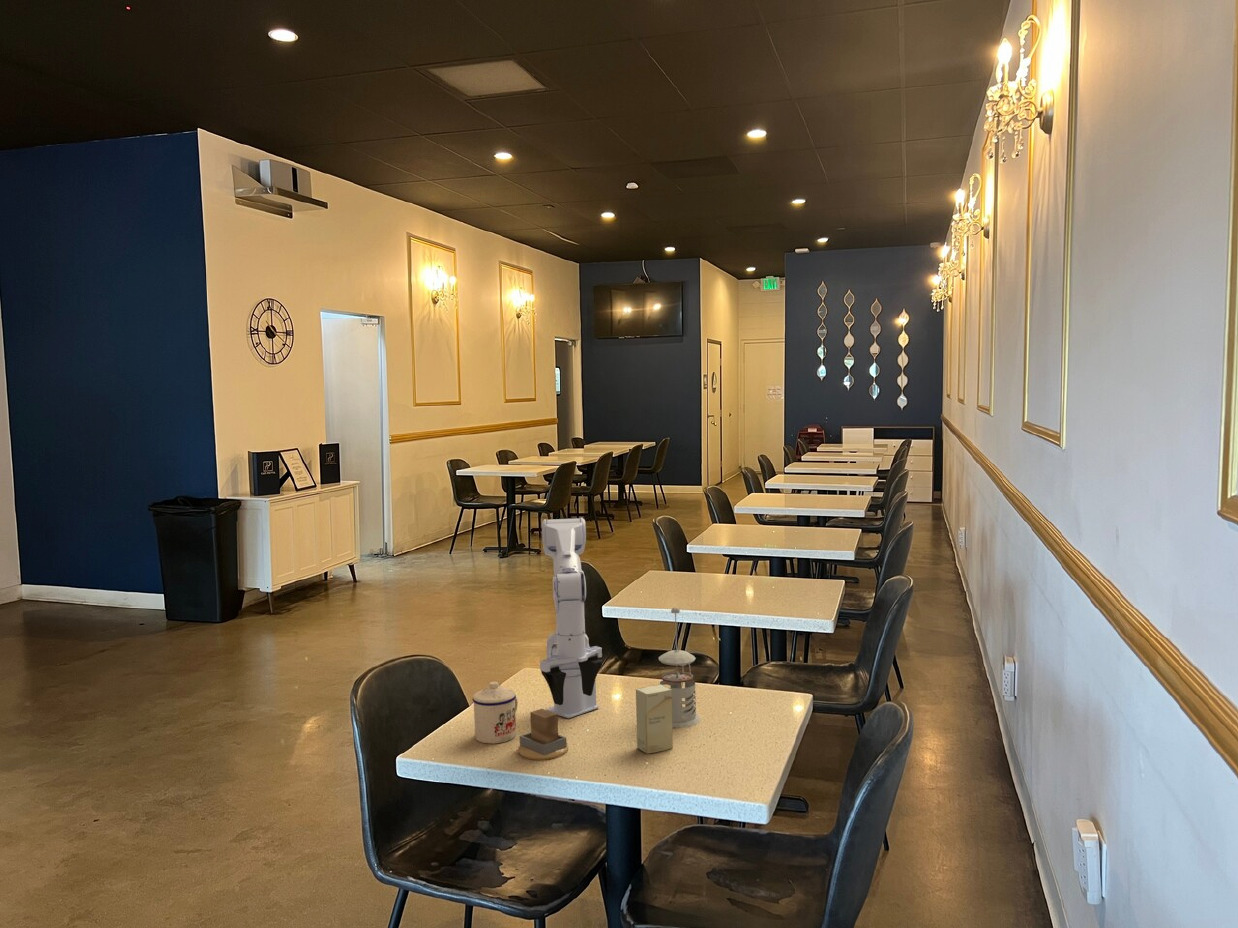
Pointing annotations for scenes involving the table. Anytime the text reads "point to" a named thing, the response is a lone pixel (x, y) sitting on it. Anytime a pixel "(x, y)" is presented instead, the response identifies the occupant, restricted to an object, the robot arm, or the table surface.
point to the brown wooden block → (544, 726)
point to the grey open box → (542, 748)
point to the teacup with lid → (495, 714)
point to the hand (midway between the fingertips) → (573, 699)
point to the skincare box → (654, 718)
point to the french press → (674, 679)
